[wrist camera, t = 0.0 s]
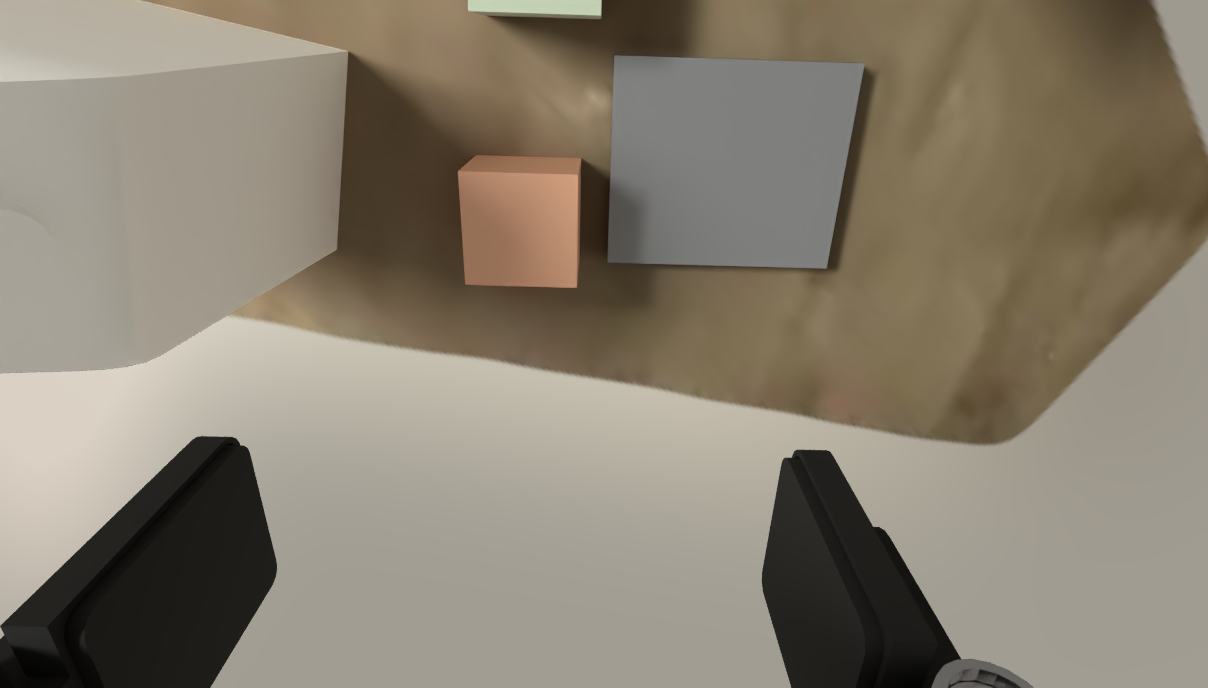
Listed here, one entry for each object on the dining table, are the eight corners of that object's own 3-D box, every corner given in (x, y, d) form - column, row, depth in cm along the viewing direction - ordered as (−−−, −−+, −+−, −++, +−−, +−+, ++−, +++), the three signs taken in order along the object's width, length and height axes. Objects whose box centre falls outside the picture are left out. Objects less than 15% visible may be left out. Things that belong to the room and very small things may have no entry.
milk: (137, -1, 35) (-784, -91, 12) (348, 51, 37) (-110, 62, 13) (151, 209, 40) (-479, 441, 17) (336, 249, 42) (-10, 518, 18)
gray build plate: (613, 55, 37) (614, 55, 36) (856, 63, 37) (864, 63, 36) (607, 256, 42) (607, 262, 41) (820, 262, 42) (826, 268, 41)
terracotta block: (476, 154, 39) (457, 171, 34) (581, 157, 39) (578, 174, 34) (481, 255, 42) (465, 284, 37) (579, 258, 42) (576, 287, 37)
